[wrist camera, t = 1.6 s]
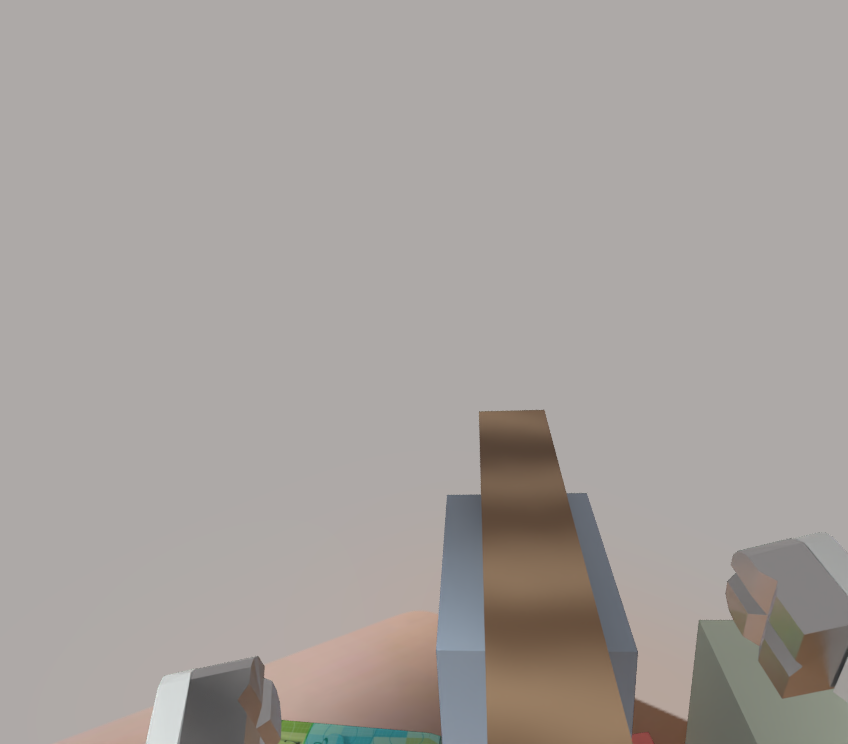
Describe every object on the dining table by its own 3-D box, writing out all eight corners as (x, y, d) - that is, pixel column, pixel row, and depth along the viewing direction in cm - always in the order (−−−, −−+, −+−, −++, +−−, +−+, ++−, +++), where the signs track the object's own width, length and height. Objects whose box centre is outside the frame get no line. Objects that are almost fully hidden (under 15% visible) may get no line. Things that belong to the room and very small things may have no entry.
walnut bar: (634, 867, 18) (641, 777, 17) (491, 862, 18) (488, 774, 17) (543, 460, 40) (544, 409, 39) (480, 461, 41) (479, 411, 39)
